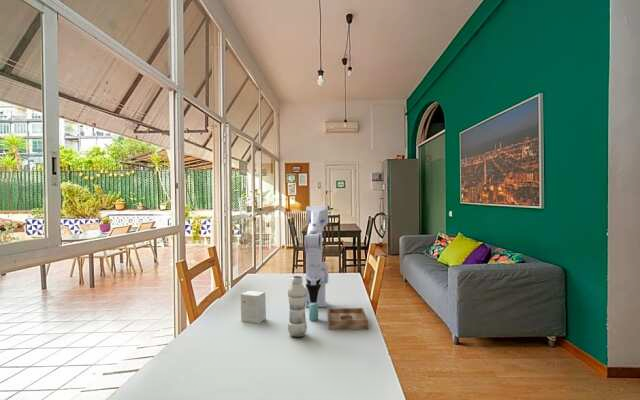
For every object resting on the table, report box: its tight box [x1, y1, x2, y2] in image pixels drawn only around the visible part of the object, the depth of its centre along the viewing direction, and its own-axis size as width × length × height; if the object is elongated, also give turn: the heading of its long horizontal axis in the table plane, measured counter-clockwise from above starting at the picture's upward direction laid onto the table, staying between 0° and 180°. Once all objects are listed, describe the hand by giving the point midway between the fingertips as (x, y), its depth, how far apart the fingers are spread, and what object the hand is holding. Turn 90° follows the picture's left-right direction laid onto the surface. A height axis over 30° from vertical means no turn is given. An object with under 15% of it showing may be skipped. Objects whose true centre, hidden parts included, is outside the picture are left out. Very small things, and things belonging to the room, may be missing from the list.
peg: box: [308, 303, 319, 322], centre depth 134 cm, size 3×3×6 cm
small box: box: [240, 290, 267, 324], centre depth 134 cm, size 8×6×10 cm
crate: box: [327, 307, 369, 331], centre depth 131 cm, size 14×14×3 cm
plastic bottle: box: [287, 275, 308, 338], centre depth 118 cm, size 6×7×20 cm
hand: (313, 299), depth 134 cm, fingers open, 7 cm apart
